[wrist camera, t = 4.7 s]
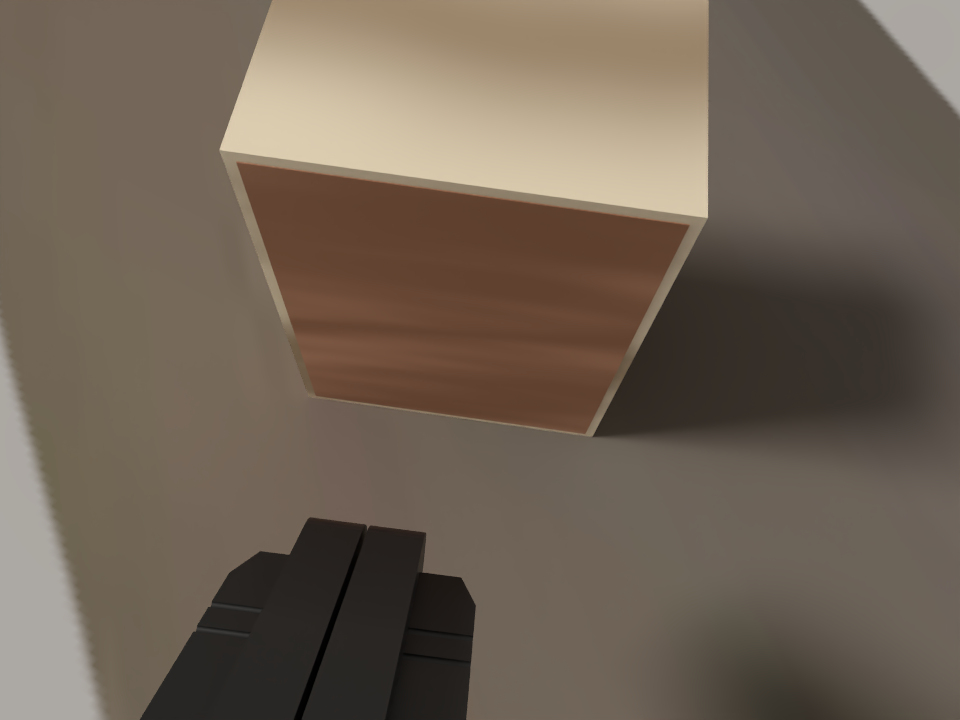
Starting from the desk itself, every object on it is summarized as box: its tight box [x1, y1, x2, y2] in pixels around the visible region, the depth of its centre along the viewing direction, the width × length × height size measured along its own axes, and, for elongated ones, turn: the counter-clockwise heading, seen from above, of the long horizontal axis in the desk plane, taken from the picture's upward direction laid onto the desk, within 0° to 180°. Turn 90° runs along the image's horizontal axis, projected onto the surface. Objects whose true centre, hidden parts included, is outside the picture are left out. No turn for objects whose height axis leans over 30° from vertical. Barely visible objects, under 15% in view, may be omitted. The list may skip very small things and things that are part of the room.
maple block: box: [220, 0, 708, 437], centre depth 16 cm, size 5×7×9 cm
